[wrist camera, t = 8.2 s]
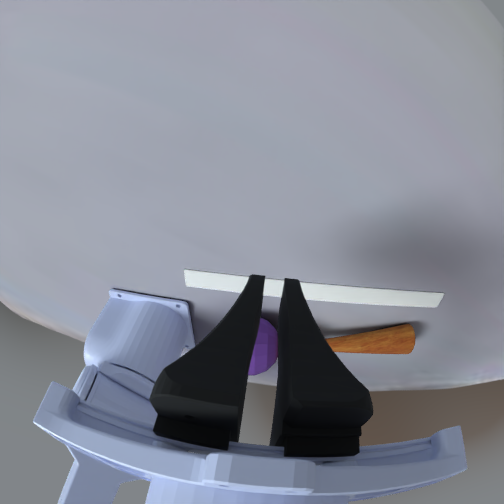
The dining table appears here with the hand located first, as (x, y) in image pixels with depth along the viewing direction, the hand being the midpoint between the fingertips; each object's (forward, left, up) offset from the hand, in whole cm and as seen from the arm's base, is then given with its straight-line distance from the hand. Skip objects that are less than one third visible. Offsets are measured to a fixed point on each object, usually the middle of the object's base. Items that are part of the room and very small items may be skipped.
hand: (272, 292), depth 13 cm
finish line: (+5, -8, -9) cm, 13 cm away
